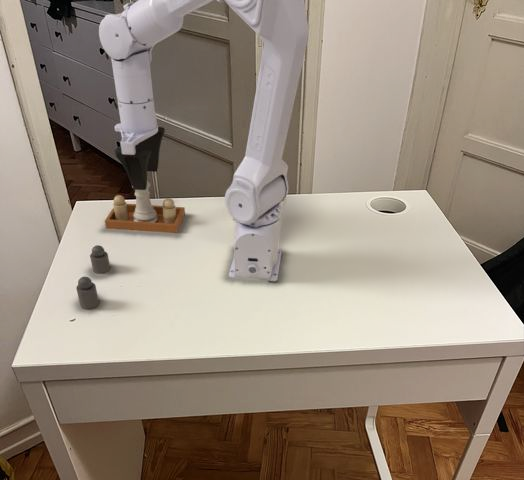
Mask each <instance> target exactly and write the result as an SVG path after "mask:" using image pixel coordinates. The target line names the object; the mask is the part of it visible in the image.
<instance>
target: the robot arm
mask: <svg viewBox="0 0 524 480" xmlns="http://www.w3.org/2000/svg"><path fill="white" fill-rule="evenodd" d="M213 1H214V0H137V1H135V2H132V1H131V2H127V3H126V4H124V5H123V11H122V12H120V13H117V14H114V13H113V14H112V13H109V14H105V15H104V18H102V20H101V21H100V23H99V26H98V36H99V41H100V44H101V46H102V48H103V50H104V52H105V54H107V55H108V56H109V57H110V61H111V67H112V73H113V81H114V87H115V94H116V100H117V107H118V114H119V119H120V122H119V123H116V124H115V125H114V132H118V133H120V135H121V136H120V137H121V140H120V141H119V144H120V146H117V147H116V148H115V150H114V154H115V157H116V158H117V159H118V161H119V162H120V164H121V165H122V166H123V168H124V170H125V171H126V174H127V177H128V179H129V182H130V184H131V187H132V186H133V187H132V189H133V190H134V191H135V190H146V187H147V180H148V172H151V173H152V172H153V173H158V168H159V161H160V150H161V146H162V145H161V144H162V141H163V138H164V135H165V132H166V130H165V127H163V126H159V125H158V122H157V121H158V119H157V112H156V109H155V100H154V99H155V98H154V92H153V91H154V90H153V82H152V81H153V80H152V74H151V73H152V72H151V71H152V70H151V64H152V61H153V58H152V57H153V56H152V51H153V48H154V46H155V45H157V44H158V43H159V42H163V40H165V39H167V38H168V37H171V36H173V35H174V34H176V33H177V32H179V31H180V30H181V29H182V27H183V25H184V17H185V16H186V15H188V14H190V13H192V12H194V11H196V10H198V9H199V8H201V7H204V6H206V5H208V4H209V3H211V2H213ZM216 1H217V2H218V3H223V2H225V3H226V4H227V6H228V7H229V8H230V9H231V10H232V11H233V12H234V13H235V14H236V15H237V16H238V17H240V19H242V21H243V22H244V23H246V24H247V25H248V27H250V28H251V29H252V30H253V31H254V32H255V33H256V34H257V36H258V37H259V38H260V40H261V42H262V44H263V45H262V53H261V59H260V65H259V70H258V71H259V72H258V77H257V82H256V89H255V95H254V100H253V106H252V112H251V117H250V118H251V119H250V123H249V124H250V125H249V130H248V137H247V142H246V147H245V153H244V154H245V155H244V157H243V159H242V161H240V163H239V165H238V167H237V168H236V170H235V172H234V173H233V176H232V177H233V178H232V182H231V184H230V186H229V187H228V188H227V189H226V191H225V194H224V205H225V209H226V210H227V212H228V214H229V215H230V216H231V217H232V220H233V222H234V246H233V253H234V255H233V258H232V262H231V266H230V269H229V272H228V277H229V278H237V279H252V280H264V281H268V282H277V281H278V278H279V272H280V266H281V260H282V252H283V251H282V250H281V249H280V248H279V241H280V240H279V239H280V238H279V237H280V215H281V213H280V211H281V208H282V207H281V206H282V205H281V203H283V201H284V200H286V198H287V196H288V194H289V180H288V169H289V164H287V163H286V162H285V161H284V160H283V156H284V150H285V146H286V142H287V136H288V132H289V128H290V123H291V119H292V115H293V109H294V105H295V100H296V95H297V91H298V86H299V81H300V77H301V74H302V73H301V72H302V67H303V63H304V58H305V54H306V50H307V45H308V41H309V33H310V31H309V30H310V29H309V23H308V17H307V10H306V4H305V3H306V2H305V0H216Z"/></svg>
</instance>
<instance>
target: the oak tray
mask: <svg viewBox="0 0 524 480" xmlns="http://www.w3.org/2000/svg"><path fill="white" fill-rule="evenodd" d="M151 205H152V207H153V208H154V210H156V213H157V215H156V216H157V218H158V219H157V221H156V222H155V223H153V222H138V221H134V216H133V213H134V211H135V208H136V203H127V210H128V216H129V220H128V221H123V220H116V218H115V212H114V207H113V208H112V209H111V211H110V212H109V213H108V215H107V217H106V218H105V219H104V224H105V229H109V230H123V231H138V232H150V233H151V232H153V233H169V234H177V233H178V231H179V229H180V228H181V226H182V223H183V221H184V218H185V216H186V209H185V207H184V206H176V216H177V218H176V220H175V222H174V224H168V223H164V218H163V209H162V207H163V205H157V204H156V205H155V204H154V205H153V204H151Z"/></svg>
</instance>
